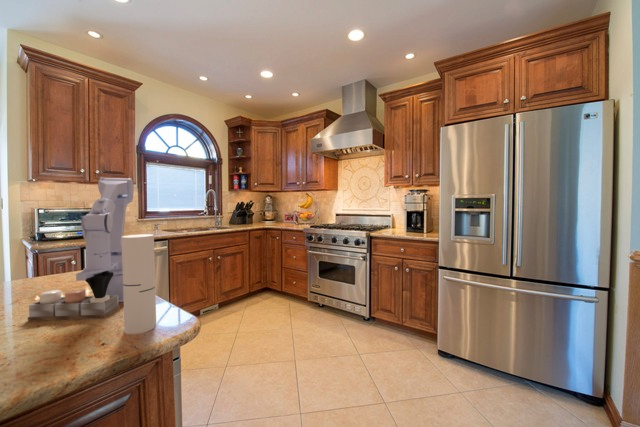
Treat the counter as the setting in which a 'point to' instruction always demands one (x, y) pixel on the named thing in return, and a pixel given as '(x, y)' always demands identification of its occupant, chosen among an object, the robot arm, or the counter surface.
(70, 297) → the middle knob
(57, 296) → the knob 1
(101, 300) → the knob
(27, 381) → the counter surface
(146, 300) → the cylindrical container
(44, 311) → the mount
